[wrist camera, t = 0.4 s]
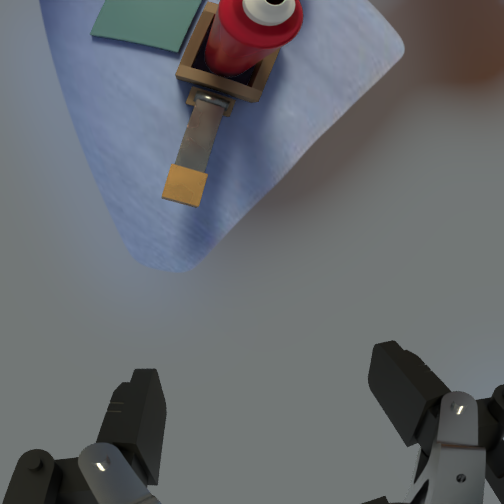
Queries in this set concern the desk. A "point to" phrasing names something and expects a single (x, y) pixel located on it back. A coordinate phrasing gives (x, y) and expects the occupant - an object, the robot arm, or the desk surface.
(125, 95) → the desk surface
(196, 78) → the holder
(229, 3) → the bottle
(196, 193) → the lever
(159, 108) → the desk surface
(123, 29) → the coaster
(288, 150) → the desk surface
